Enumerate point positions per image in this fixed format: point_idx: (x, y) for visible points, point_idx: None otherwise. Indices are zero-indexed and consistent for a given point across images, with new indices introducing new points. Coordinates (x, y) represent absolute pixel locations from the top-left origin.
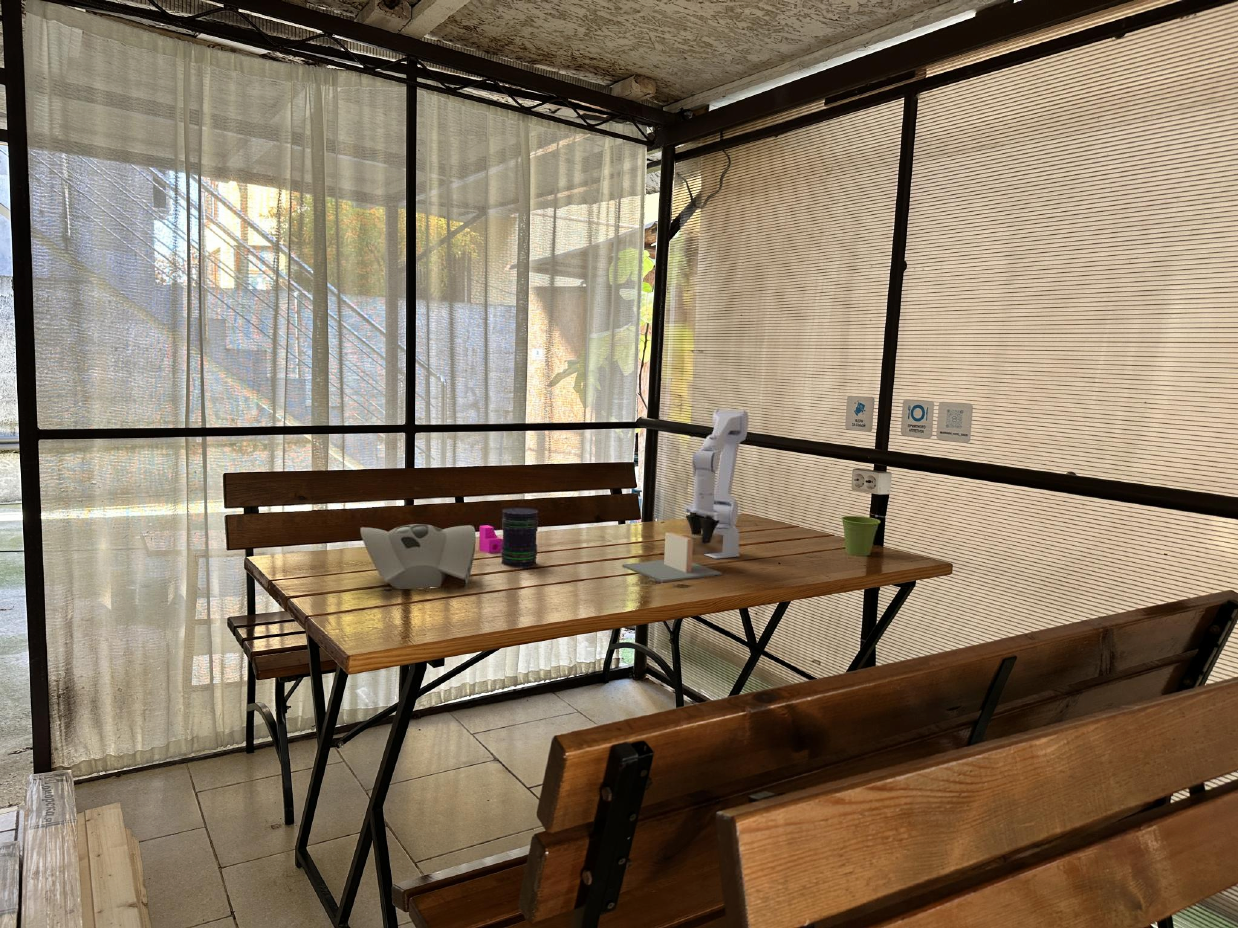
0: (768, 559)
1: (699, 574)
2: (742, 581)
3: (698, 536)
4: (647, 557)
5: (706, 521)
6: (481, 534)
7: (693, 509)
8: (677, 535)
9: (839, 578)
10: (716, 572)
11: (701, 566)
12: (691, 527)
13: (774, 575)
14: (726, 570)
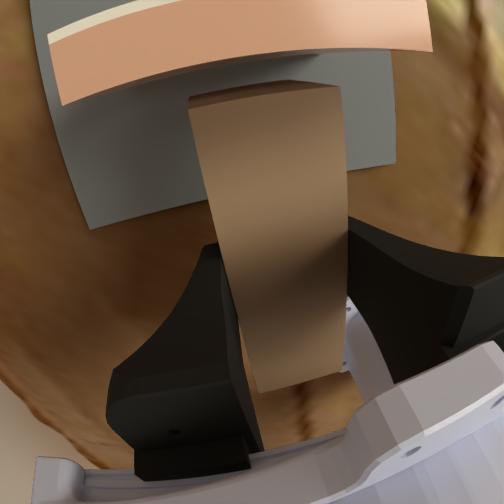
0: (284, 412)
1: (65, 110)
2: (5, 261)
3: (252, 235)
4: (460, 62)
5: (109, 396)
6: None
7: (468, 430)
8: (282, 8)
9: (88, 449)
10: (95, 207)
11: None
12: (396, 246)
13: (96, 376)
14: (169, 274)
